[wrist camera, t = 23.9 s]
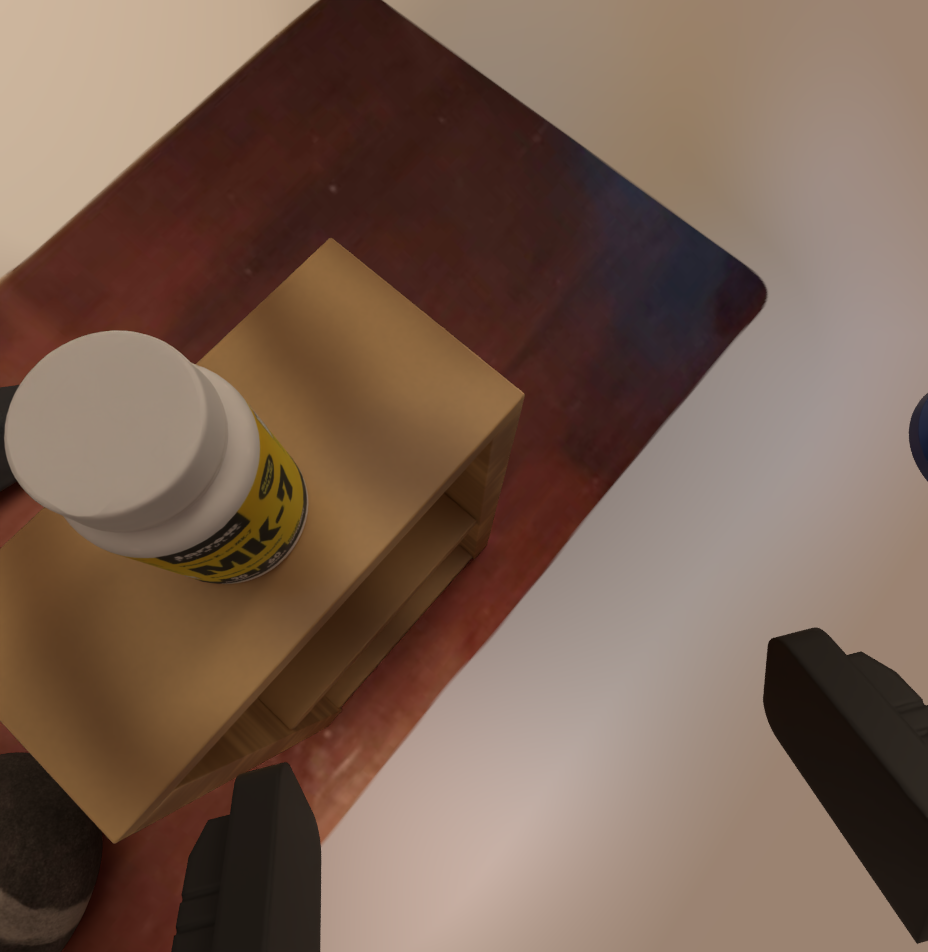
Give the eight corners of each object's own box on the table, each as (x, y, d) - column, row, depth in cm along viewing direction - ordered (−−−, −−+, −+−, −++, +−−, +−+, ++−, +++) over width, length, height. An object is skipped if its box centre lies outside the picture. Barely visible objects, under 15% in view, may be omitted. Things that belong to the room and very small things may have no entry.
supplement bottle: (243, 617, 21) (104, 592, 12) (128, 526, 21) (-75, 447, 13) (342, 492, 22) (273, 394, 14) (230, 410, 22) (99, 269, 14)
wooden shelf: (403, 471, 55) (330, 235, 24) (487, 544, 53) (526, 393, 23) (241, 643, 51) (-87, 628, 20) (327, 727, 50) (113, 845, 19)
